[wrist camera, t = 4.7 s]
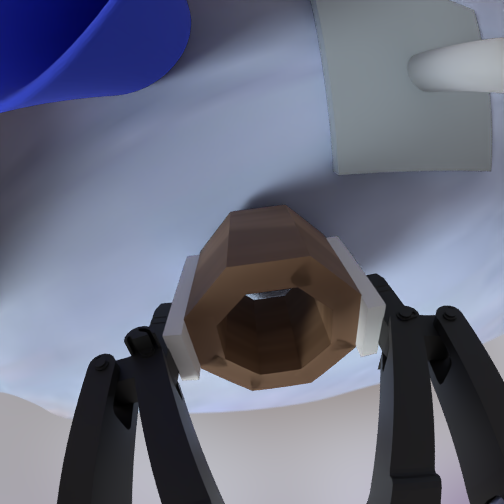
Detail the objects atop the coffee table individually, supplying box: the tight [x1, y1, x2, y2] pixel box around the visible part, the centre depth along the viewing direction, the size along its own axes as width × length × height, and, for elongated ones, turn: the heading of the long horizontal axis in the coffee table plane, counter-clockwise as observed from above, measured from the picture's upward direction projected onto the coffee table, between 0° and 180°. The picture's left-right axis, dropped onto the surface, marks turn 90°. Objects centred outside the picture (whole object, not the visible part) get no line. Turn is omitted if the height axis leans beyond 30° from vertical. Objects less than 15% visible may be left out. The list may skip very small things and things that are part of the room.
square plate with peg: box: [311, 0, 504, 175], centre depth 9 cm, size 12×12×8 cm
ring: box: [184, 205, 362, 391], centre depth 14 cm, size 7×7×6 cm
